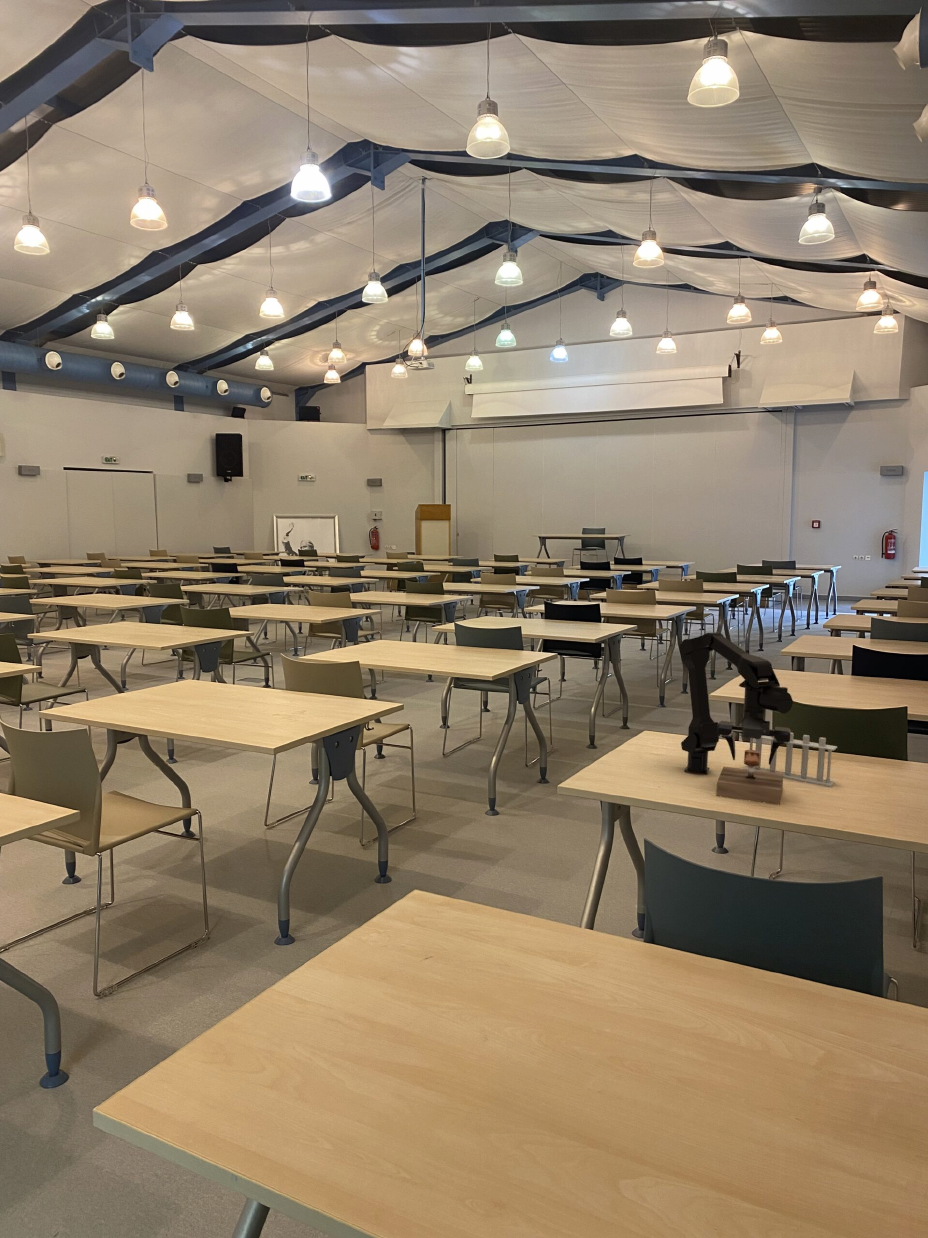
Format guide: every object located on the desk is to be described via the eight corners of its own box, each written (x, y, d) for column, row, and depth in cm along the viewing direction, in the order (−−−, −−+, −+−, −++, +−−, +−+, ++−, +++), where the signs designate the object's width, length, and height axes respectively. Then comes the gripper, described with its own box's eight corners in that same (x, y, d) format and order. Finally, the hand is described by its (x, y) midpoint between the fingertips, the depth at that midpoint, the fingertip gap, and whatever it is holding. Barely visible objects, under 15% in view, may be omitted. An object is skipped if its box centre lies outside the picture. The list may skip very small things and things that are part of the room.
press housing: (722, 780, 238) (723, 766, 238) (782, 788, 232) (783, 774, 231) (716, 796, 223) (717, 781, 223) (779, 804, 217) (780, 790, 217)
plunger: (743, 775, 230) (745, 749, 229) (759, 777, 228) (760, 750, 227) (742, 779, 226) (744, 752, 225) (758, 781, 225) (759, 754, 224)
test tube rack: (835, 784, 237) (838, 739, 235) (831, 788, 233) (834, 741, 232) (747, 767, 252) (749, 724, 250) (742, 770, 248) (744, 727, 247)
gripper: (715, 708, 221) (712, 765, 223) (790, 715, 214) (787, 774, 216) (720, 700, 232) (717, 755, 233) (792, 707, 224) (788, 763, 226)
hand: (751, 762), depth 227 cm, fingers open, 9 cm apart
